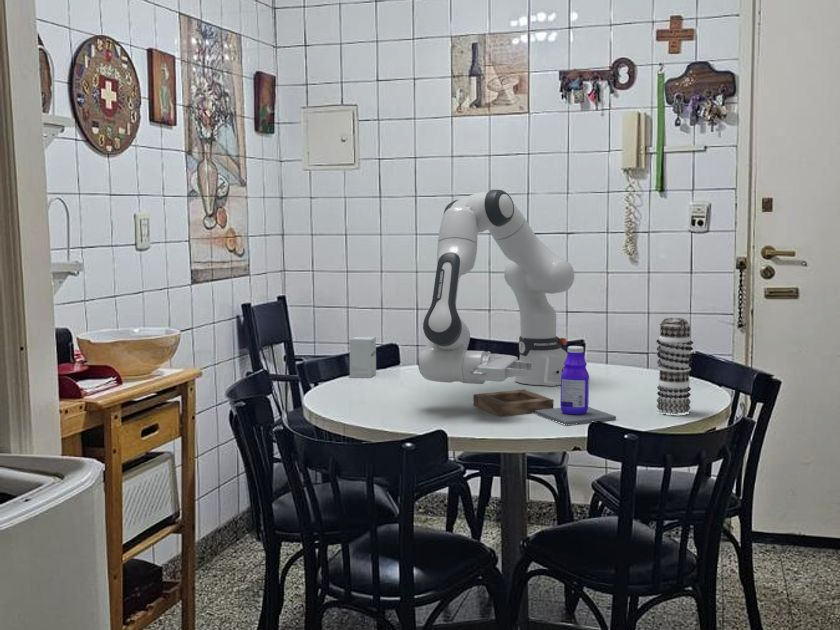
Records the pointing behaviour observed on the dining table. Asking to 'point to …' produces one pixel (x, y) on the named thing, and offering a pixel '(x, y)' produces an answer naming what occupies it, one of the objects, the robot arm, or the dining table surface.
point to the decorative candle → (674, 366)
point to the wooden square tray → (512, 402)
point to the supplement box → (362, 357)
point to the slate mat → (575, 416)
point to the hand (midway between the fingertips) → (528, 369)
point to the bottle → (575, 383)
